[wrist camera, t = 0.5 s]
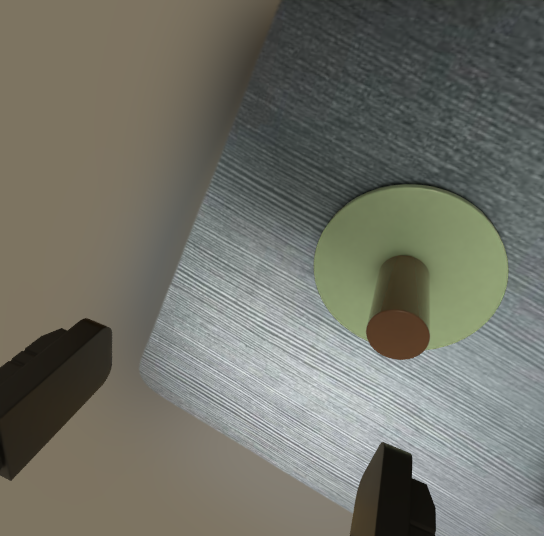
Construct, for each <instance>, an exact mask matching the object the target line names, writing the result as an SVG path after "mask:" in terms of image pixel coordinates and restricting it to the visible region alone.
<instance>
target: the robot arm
mask: <svg viewBox="0 0 544 536" xmlns="http://www.w3.org/2000/svg"><path fill="white" fill-rule="evenodd" d="M111 366H112V330H111V328H109V327H107V326H104V325H102V324H100V323H97V322H95V321H92V320H90V319H86V318H85V319H82V320H80V321H79V322H78V323H77V324H75V325H74V326H73V327H72V328H70V329H69V330H68V331H67V330H64V329H62V328H61V329H59V330H56V331H53V332H51V333H48V334H46V335H43V336H41V337H40V338H39V339H37V340H36V341H35V342H33V343H32V344H31V345H29V346H28V347H27V348H25V351H21V352H20V353H19V354H18V355H16V356H15V357H13V358H12V360H11V361H8V362H7V363H6V364H4V365H3V366H2V367H0V475H1V476H2V477H4V478H6V479H8V480H10V481H11V480H12V479H13V478H14V477H15V476H16V475H17V474H18V473H19V472H20V471H21V470H22V469H23V468H24V467H25V466H26V464H28V462H29V461H30V460H31V459H32V458H33V457H34V456H35V455H36V454H37V453H38V452H39V451H40V450H41V449H42V448H43V446H45V445H46V443H48V442H49V440H50V439H51V438H52V437H53V436H54V435H55V434H56V433H57V432H58V431H59V430H60V429H61V428H62V427H63V426H64V425H65V424H66V423H67V421H68V420H69V419H70V418H71V417H72V416H73V415H74V414H75V413H76V412H77V411H78V410H79V409H80V408H81V407H82V406H83V405H84V404H85V402H86V401H88V399H89V398H90V397H91V396H92V395H93V394H94V393H95V392H96V391H97V390H98V389H99V388H100V387H101V386H102V385H103V384H104V382H105V381H106V379H107V377H108V375H109V373H110V370H111ZM435 532H436V512H435V505H434V503H433V500H432V497H431V495H430V492H429V489H428V487H427V484H424V483H422V482H420V481H417V480H415V479H413V478H412V455H411V454H410V453H408V452H406V451H403V450H401V449H398V448H396V447H394V446H391V445H389V444H386V443H384V442H382V443H381V444H380V445H379V447H378V449H377V451H376V452H375V454H374V456H373V458H372V460H371V461H370V463H369V465H368V467H367V469H366V470H365V472H364V474H363V476H362V479H361V481H360V484H359V487H358V491H357V495H356V500H355V506H354V513H353V519H352V525H351V531H350V536H435Z"/></svg>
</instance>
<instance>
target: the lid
mask: <svg viewBox="0 0 544 536" xmlns="http://www.w3.org/2000/svg"><path fill="white" fill-rule="evenodd" d="M508 271H509V270H508V259H507V255H506V251H505V247H504V244H503V242H502V240H501V238H500V235H499V233H498V231H497V230H496V228H495V227H494V225H493V224H492V222H491V221H490V220H489V219H488V218H487V217H486V216H485V215H484V213H483V212H482V211H480V210H479V209H478V208H477V207H475V206H474V205H473V204H472V203H470V202H468V201H467V200H465V199H464V198H462V197H460V196H458V195H456V194H453V193H451V192H449V191H446V190H443V189H439V188H436V187H431V186H425V185H413V184H403V185H392V186H387V187H383V188H379V189H376V190H373V191H370V192H367V193H365V194H363V195H361V196H359V197H357V198H355V199H354V200H352V201H351V202H349V203H348V204H346V205H345V206H344V207H343V208H341V209H340V210H339V211H338V212H337V213H336V214H335V215H334V216H333V218H332V219H331V220H330V221H329V223H328V224H327V226H326V227H325V229H324V231H323V232H322V235H321V237H320V239H319V241H318V244H317V247H316V251H315V257H314V276H315V282H316V286H317V289H318V292H319V294H320V297H321V299H322V301H323V302H324V304H325V306H326V307H327V309H328V310H329V312H330V313H331V314H332V315H333V317H334V318H335V319H336V320H337V321H338V322H339V323H340V324H341V325H343V326H344V327H345V328H346V329H348V330H349V331H350V332H352V333H354V334H355V335H357V336H358V337H360V338H362V339H364V340H366V341H368V342H369V343H370V345H371V346H372V347H373V349H374V350H376V351H377V352H378V353H380V354H381V355H383V356H385V357H388V358H391V359H397V360H405V359H410V358H414V357H416V356H418V355H420V354H421V353H422V352H423V351H424V350H430V349H436V348H440V347H444V346H448V345H450V344H453V343H456V342H458V341H460V340H462V339H464V338H466V337H468V336H470V335H471V334H473V333H474V332H475V331H477V330H478V329H479V328H481V327H482V326H483V325H484V324H485V323H486V322H487V321H488V320H489V319H490V318H491V316H492V315H493V314H494V313H495V311H496V310H497V308H498V306H499V305H500V303H501V301H502V298H503V296H504V294H505V290H506V286H507V282H508Z"/></svg>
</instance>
